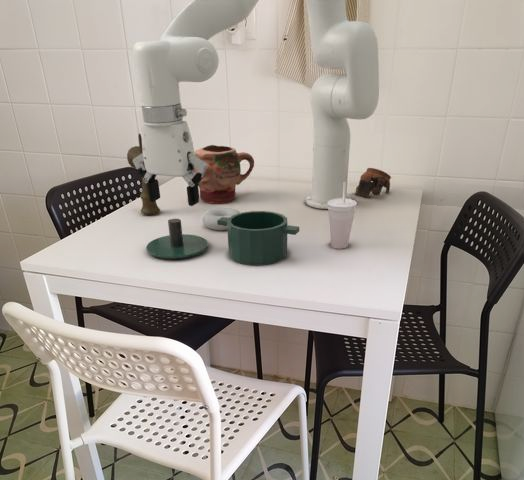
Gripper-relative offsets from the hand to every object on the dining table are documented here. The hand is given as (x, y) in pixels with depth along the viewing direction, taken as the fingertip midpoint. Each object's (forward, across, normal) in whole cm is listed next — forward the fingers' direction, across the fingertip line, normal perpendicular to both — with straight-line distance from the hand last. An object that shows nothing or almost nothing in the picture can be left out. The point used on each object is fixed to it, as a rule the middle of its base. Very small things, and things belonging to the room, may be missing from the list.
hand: (174, 202), depth 107 cm
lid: (+10, 0, +1) cm, 10 cm away
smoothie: (+11, -33, -14) cm, 37 cm away
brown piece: (+12, -30, -56) cm, 65 cm away
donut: (+11, -2, -17) cm, 21 cm away
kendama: (+11, +21, -19) cm, 31 cm away
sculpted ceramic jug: (+11, +9, -38) cm, 41 cm away
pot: (+11, -18, -3) cm, 21 cm away
